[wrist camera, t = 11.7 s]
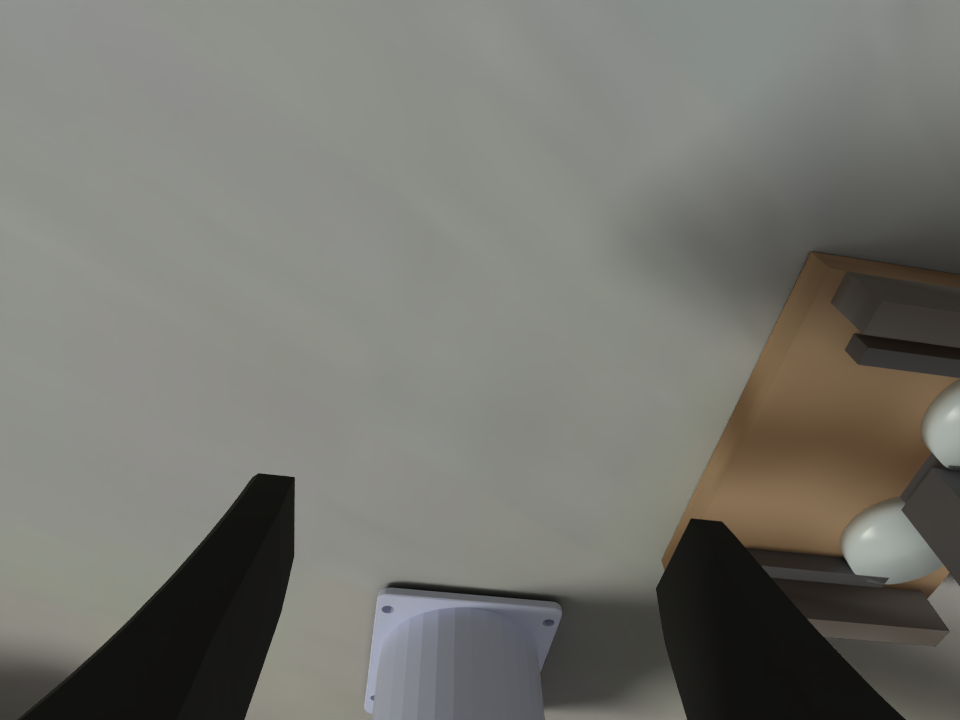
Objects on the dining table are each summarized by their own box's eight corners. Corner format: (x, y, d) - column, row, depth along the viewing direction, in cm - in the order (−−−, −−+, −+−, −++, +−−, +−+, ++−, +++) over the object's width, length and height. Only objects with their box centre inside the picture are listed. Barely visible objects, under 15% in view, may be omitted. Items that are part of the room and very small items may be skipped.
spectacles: (912, 574, 25) (996, 693, 21) (727, 557, 24) (779, 676, 20) (1083, 365, 20) (1241, 471, 16) (853, 333, 19) (958, 437, 15)
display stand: (902, 583, 27) (946, 647, 25) (661, 560, 26) (682, 624, 24) (1135, 301, 20) (1231, 352, 17) (810, 251, 19) (864, 298, 16)
